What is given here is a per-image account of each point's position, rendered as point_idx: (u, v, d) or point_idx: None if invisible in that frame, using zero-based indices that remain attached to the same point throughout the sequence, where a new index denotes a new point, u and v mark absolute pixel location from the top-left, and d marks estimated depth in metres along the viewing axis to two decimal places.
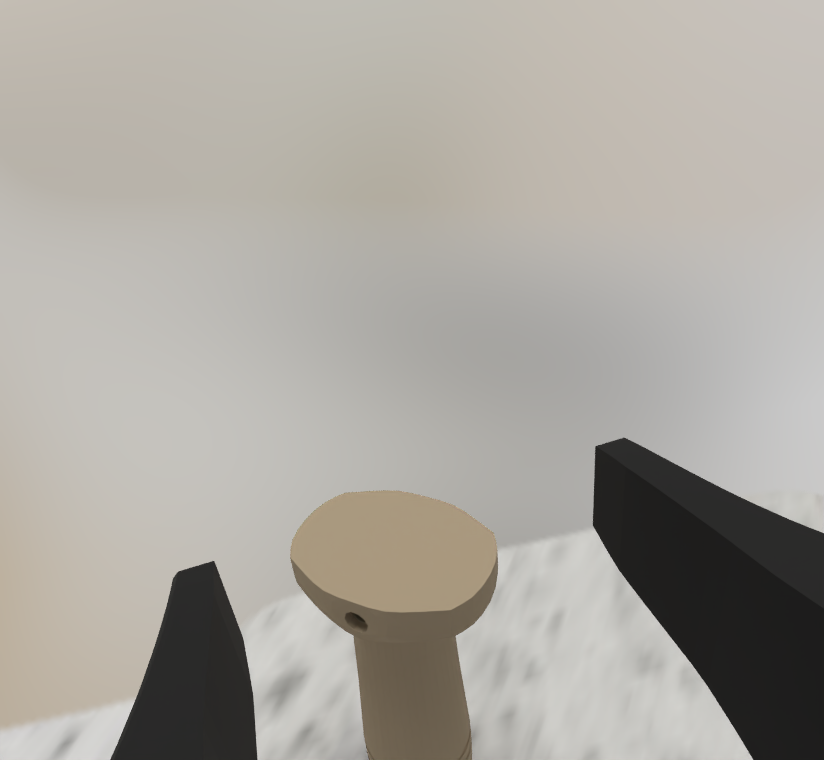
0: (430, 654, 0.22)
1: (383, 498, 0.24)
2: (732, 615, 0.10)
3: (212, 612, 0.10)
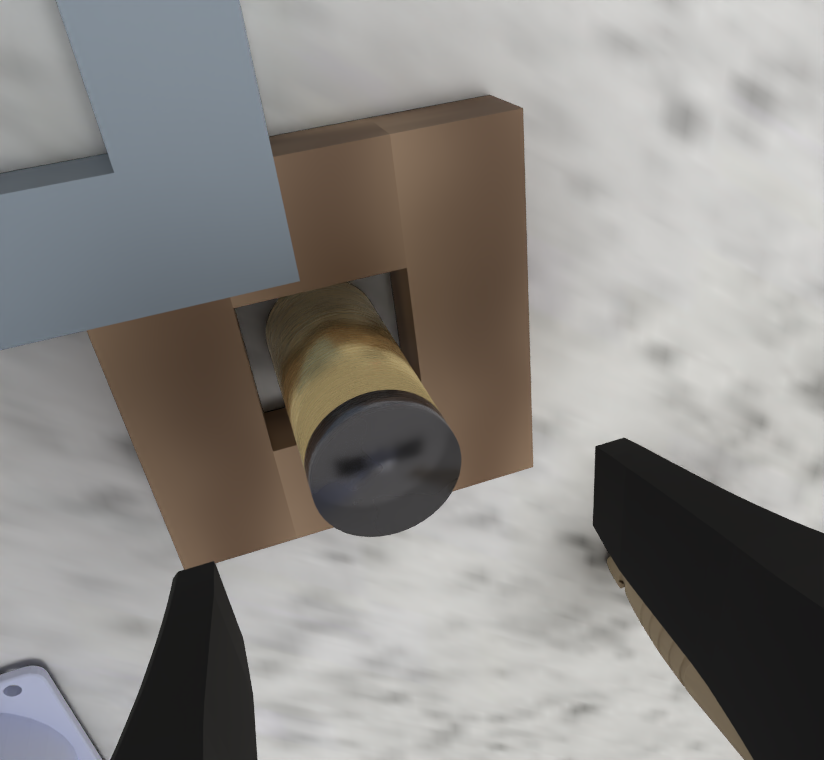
0: None
1: None
2: (732, 615, 0.10)
3: (212, 612, 0.10)
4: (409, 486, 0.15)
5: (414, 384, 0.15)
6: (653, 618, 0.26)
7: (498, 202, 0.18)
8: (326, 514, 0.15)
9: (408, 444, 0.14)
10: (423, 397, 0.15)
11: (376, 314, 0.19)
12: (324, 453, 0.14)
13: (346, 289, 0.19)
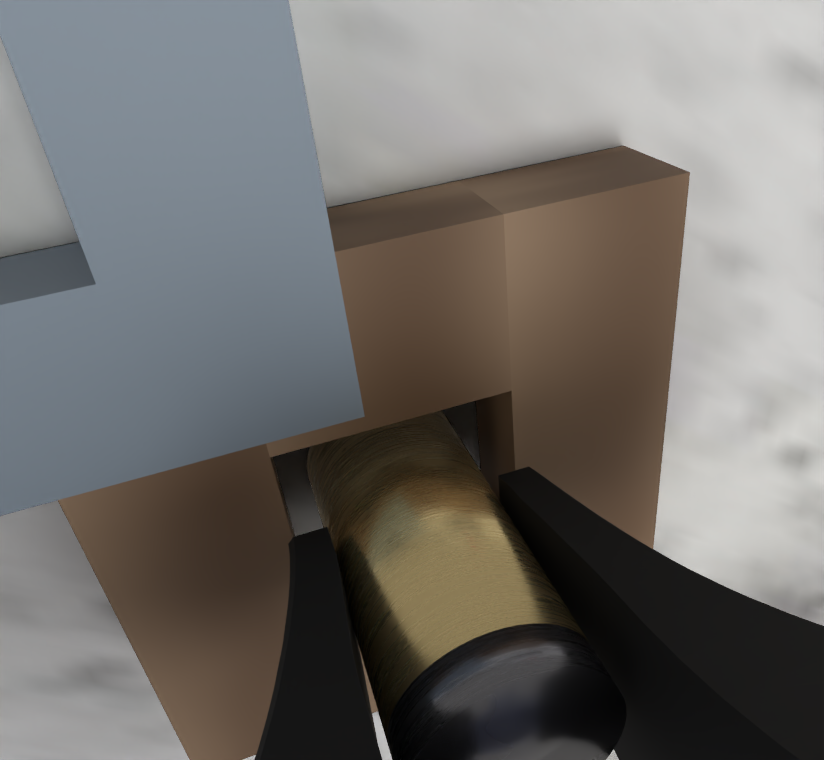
0: None
1: None
2: (615, 658, 0.10)
3: (339, 572, 0.11)
4: None
5: (549, 599, 0.10)
6: None
7: (642, 300, 0.13)
8: None
9: (554, 714, 0.09)
10: (568, 627, 0.10)
11: (462, 447, 0.14)
12: (428, 745, 0.09)
13: None
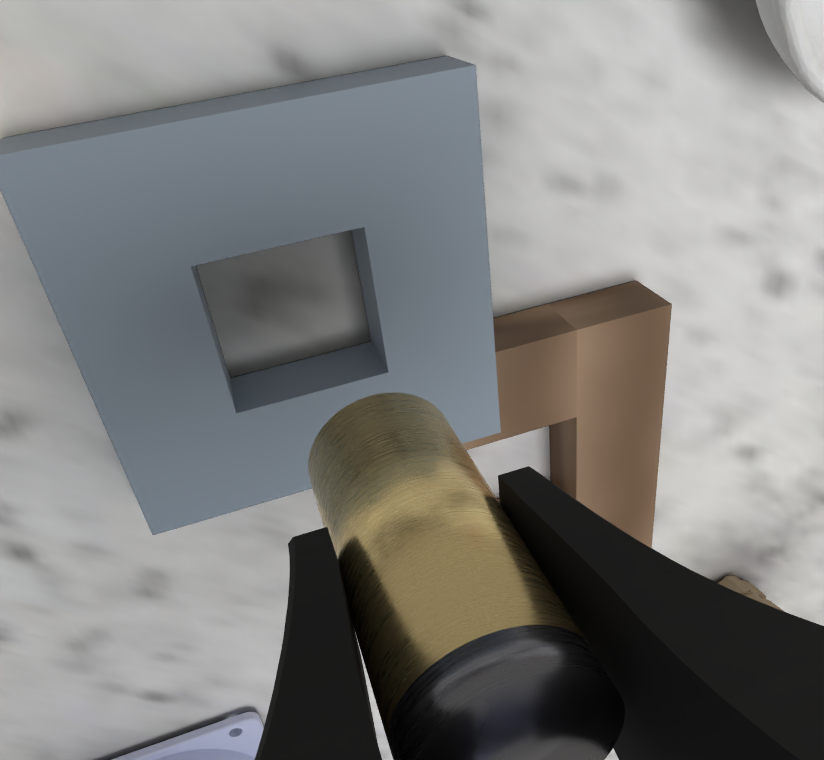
0: None
1: None
2: (615, 658, 0.10)
3: (339, 572, 0.11)
4: None
5: (543, 598, 0.10)
6: None
7: (647, 367, 0.23)
8: None
9: (549, 715, 0.09)
10: (562, 627, 0.10)
11: (459, 446, 0.14)
12: (424, 751, 0.09)
13: (414, 410, 0.14)
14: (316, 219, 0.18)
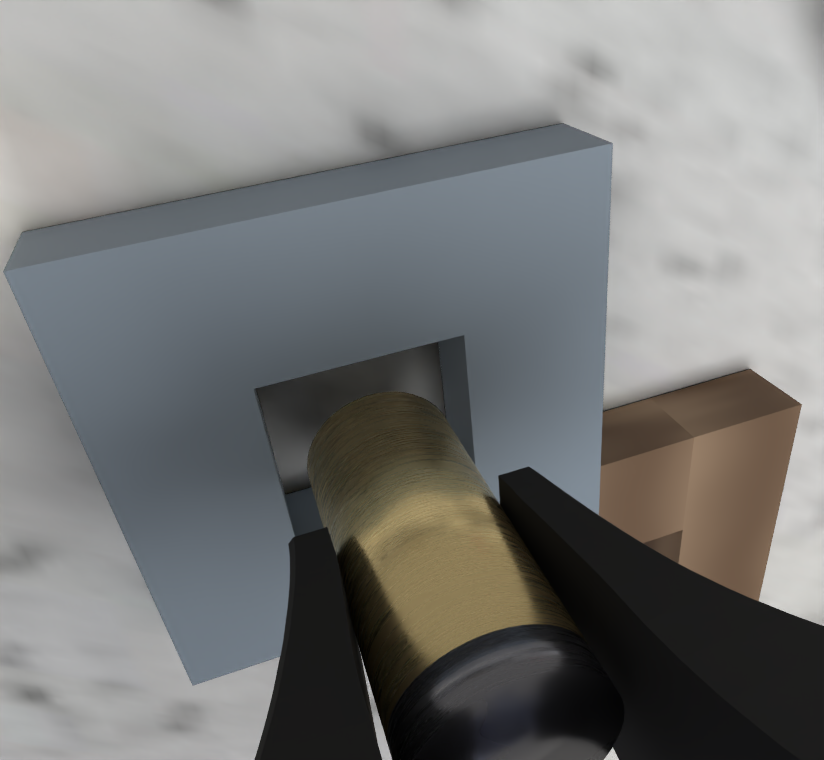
0: None
1: None
2: (615, 658, 0.10)
3: (339, 572, 0.11)
4: None
5: (542, 598, 0.10)
6: None
7: (766, 473, 0.20)
8: None
9: (548, 714, 0.09)
10: (561, 626, 0.10)
11: (458, 445, 0.14)
12: (423, 751, 0.09)
13: (413, 410, 0.14)
14: (408, 328, 0.14)
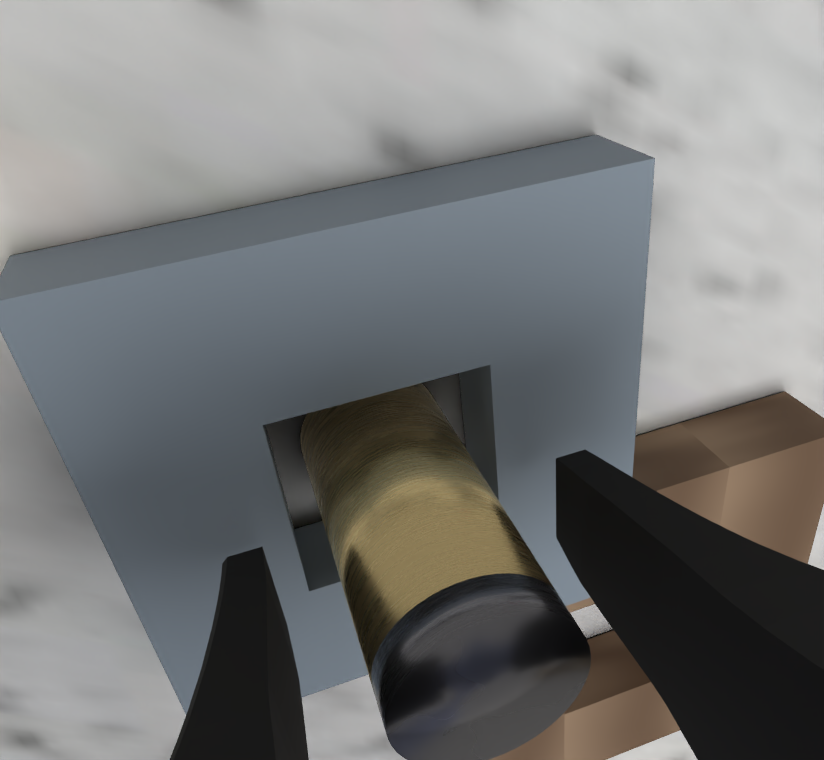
0: None
1: None
2: (684, 632, 0.10)
3: (266, 595, 0.11)
4: (519, 701, 0.11)
5: (516, 552, 0.11)
6: None
7: (802, 502, 0.19)
8: (407, 752, 0.10)
9: (519, 655, 0.10)
10: (532, 576, 0.11)
11: (442, 419, 0.15)
12: (402, 685, 0.10)
13: None
14: (430, 358, 0.13)
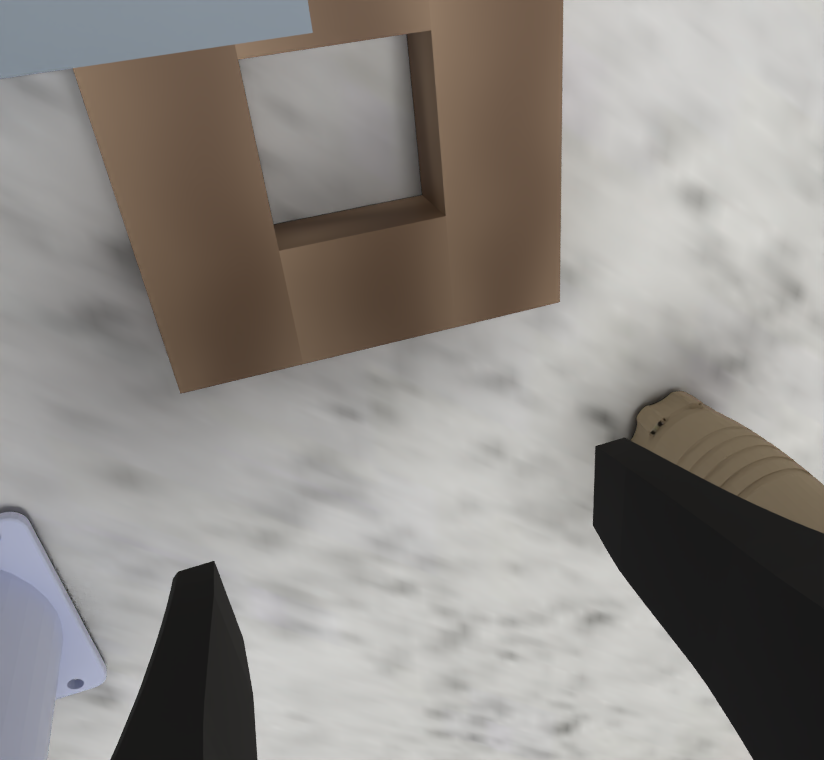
0: None
1: None
2: (732, 615, 0.10)
3: (212, 612, 0.10)
4: None
5: None
6: None
7: None
8: None
9: None
10: None
11: None
12: None
13: None
14: None
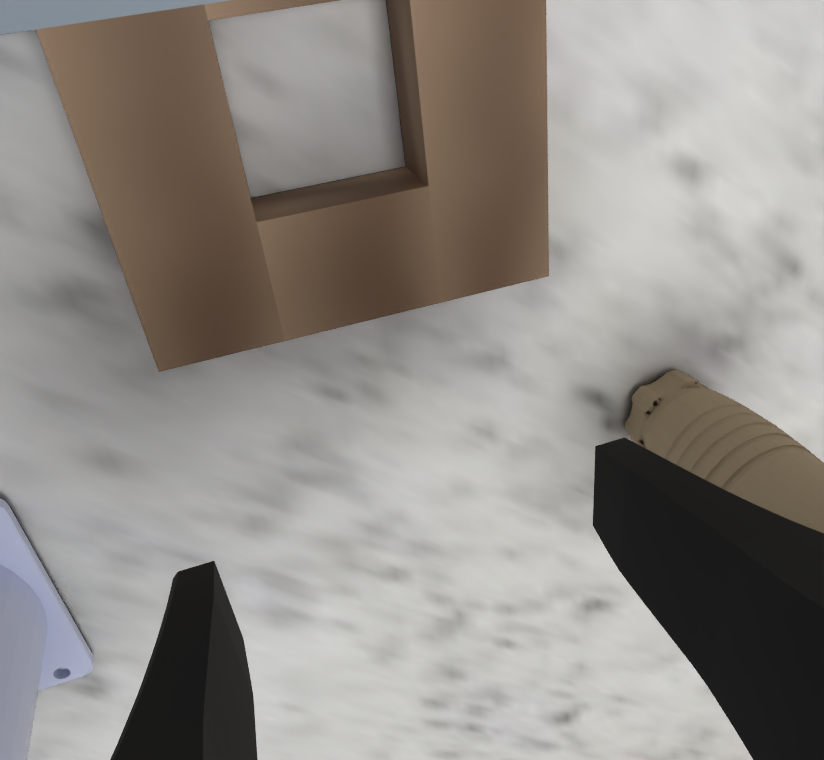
0: None
1: None
2: (732, 615, 0.10)
3: (212, 612, 0.10)
4: None
5: None
6: None
7: None
8: None
9: None
10: None
11: None
12: None
13: None
14: None
